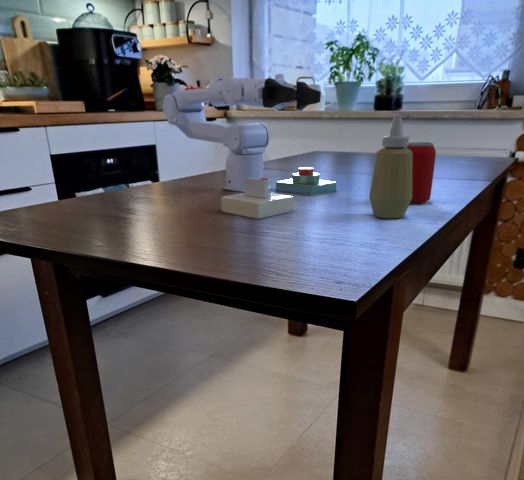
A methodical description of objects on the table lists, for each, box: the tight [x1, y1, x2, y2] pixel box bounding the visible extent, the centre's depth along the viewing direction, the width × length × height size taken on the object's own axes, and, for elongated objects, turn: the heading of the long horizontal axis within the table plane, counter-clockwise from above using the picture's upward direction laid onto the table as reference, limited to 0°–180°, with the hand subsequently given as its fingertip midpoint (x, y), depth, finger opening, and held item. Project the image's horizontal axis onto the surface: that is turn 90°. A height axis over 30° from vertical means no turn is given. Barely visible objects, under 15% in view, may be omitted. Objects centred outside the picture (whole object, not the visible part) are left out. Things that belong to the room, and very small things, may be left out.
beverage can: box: [405, 141, 437, 205], centre depth 111 cm, size 7×7×12 cm
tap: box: [243, 177, 271, 198], centre depth 105 cm, size 6×2×4 cm, turn 45°
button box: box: [275, 172, 337, 197], centre depth 128 cm, size 12×9×4 cm
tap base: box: [220, 192, 294, 220], centre depth 106 cm, size 11×10×3 cm
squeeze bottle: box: [368, 114, 413, 219], centre depth 97 cm, size 8×8×18 cm
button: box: [298, 166, 314, 175], centre depth 127 cm, size 4×4×2 cm
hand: (307, 95), depth 109 cm, fingers open, 7 cm apart
